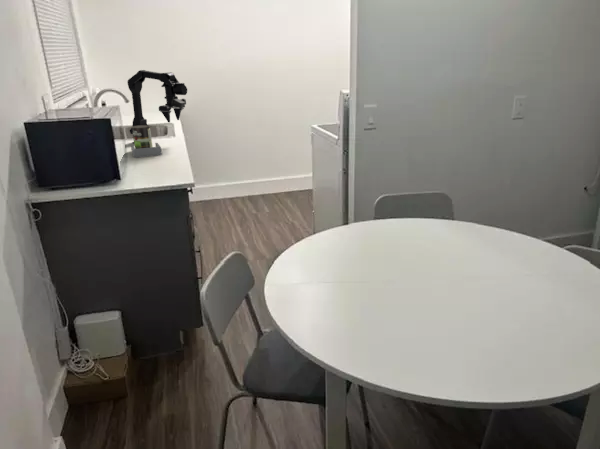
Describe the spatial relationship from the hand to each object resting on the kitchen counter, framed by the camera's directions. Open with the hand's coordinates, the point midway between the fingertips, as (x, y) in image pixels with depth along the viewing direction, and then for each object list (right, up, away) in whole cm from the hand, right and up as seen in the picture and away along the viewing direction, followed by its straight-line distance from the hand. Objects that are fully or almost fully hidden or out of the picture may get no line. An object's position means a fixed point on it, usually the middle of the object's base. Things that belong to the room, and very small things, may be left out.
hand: (173, 121), depth 284 cm
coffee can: (-16, -19, -7) cm, 25 cm away
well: (-11, -22, -16) cm, 29 cm away
